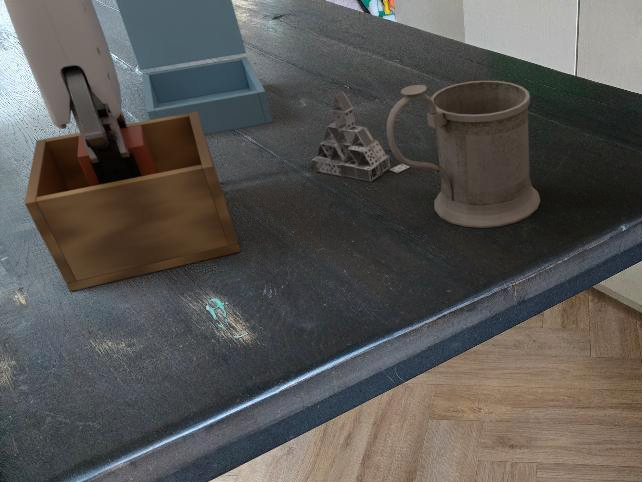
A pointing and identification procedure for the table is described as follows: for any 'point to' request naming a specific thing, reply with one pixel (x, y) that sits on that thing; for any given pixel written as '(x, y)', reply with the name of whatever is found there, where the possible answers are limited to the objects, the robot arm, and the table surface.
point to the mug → (477, 151)
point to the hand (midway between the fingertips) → (128, 186)
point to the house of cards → (351, 147)
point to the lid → (180, 30)
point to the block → (134, 144)
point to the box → (209, 95)
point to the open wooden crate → (131, 207)
